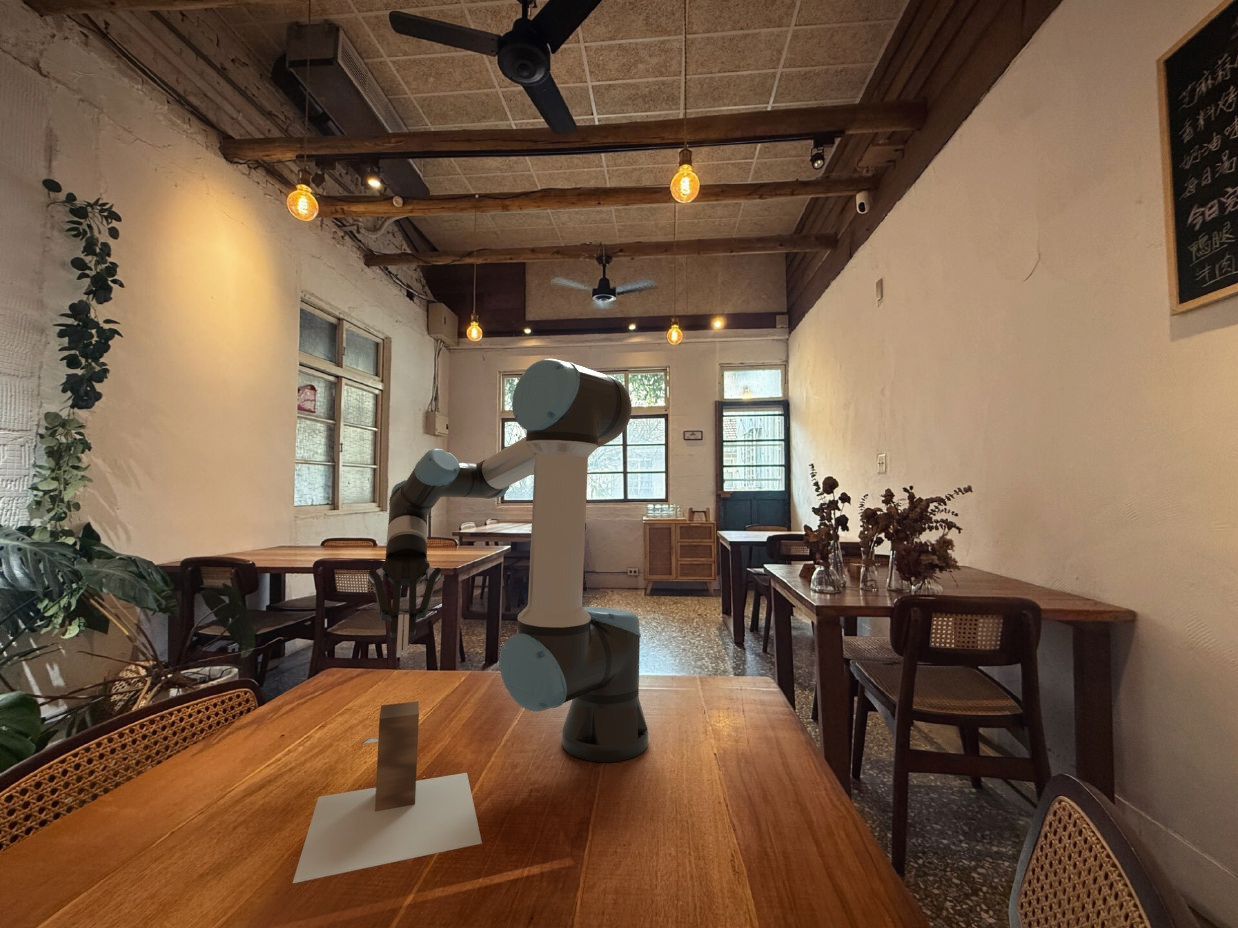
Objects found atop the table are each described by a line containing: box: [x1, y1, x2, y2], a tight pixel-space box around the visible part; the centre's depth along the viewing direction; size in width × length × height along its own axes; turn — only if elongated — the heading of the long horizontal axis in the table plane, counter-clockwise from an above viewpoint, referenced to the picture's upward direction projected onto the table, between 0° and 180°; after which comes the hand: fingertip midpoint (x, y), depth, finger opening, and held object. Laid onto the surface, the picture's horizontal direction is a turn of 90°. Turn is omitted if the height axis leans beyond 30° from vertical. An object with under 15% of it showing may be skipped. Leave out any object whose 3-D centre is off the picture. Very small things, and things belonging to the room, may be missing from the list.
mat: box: [292, 772, 483, 884], centre depth 70 cm, size 20×18×1 cm
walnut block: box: [375, 700, 420, 812], centre depth 75 cm, size 5×5×12 cm
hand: (402, 652), depth 89 cm, fingers closed
